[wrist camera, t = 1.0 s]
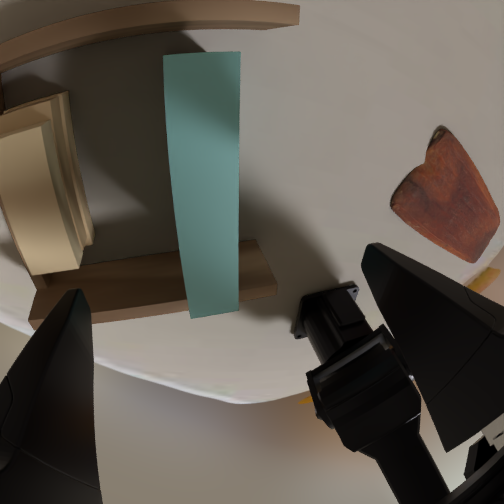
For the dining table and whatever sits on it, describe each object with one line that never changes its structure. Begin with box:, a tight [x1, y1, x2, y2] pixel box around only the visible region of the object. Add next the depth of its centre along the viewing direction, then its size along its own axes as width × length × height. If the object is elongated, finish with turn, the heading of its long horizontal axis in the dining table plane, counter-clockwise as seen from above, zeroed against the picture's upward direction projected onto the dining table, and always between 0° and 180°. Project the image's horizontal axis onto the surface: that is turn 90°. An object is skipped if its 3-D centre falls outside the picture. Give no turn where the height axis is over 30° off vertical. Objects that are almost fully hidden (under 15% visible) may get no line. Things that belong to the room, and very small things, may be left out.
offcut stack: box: [0, 91, 95, 275], centre depth 14 cm, size 10×4×4 cm, turn 177°
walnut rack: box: [0, 0, 300, 330], centre depth 15 cm, size 17×17×5 cm
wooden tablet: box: [391, 129, 500, 263], centre depth 30 cm, size 27×10×2 cm, turn 59°
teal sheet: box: [163, 52, 241, 319], centre depth 15 cm, size 12×2×8 cm, turn 178°
